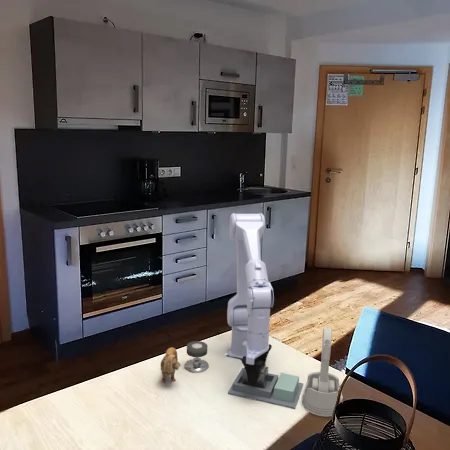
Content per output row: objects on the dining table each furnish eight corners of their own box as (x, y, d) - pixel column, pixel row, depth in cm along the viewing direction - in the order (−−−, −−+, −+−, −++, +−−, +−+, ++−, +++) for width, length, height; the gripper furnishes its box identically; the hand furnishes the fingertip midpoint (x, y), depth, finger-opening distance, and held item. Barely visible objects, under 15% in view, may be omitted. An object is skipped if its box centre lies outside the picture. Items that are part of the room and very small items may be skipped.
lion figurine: (180, 388, 126) (181, 358, 124) (160, 390, 125) (160, 359, 123) (178, 361, 140) (178, 333, 138) (160, 362, 139) (160, 334, 137)
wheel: (191, 345, 140) (191, 339, 140) (210, 349, 138) (210, 343, 138) (183, 355, 134) (183, 348, 134) (202, 359, 133) (202, 352, 132)
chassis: (241, 371, 135) (241, 361, 134) (303, 384, 129) (304, 373, 129) (227, 393, 124) (227, 382, 123) (294, 409, 118) (295, 397, 117)
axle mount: (190, 358, 142) (190, 351, 141) (212, 362, 139) (212, 356, 139) (180, 369, 135) (180, 362, 135) (203, 374, 133) (203, 367, 132)
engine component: (301, 413, 117) (342, 419, 115) (306, 337, 112) (349, 342, 110) (302, 389, 127) (340, 394, 125) (308, 319, 123) (347, 323, 121)
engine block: (246, 379, 130) (247, 359, 129) (267, 383, 129) (268, 363, 127) (242, 387, 127) (242, 366, 125) (263, 391, 125) (264, 371, 123)
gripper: (251, 316, 132) (249, 360, 135) (235, 338, 118) (233, 386, 121) (275, 321, 130) (273, 365, 133) (262, 343, 116) (259, 392, 119)
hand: (256, 376), depth 127 cm, fingers open, 6 cm apart
